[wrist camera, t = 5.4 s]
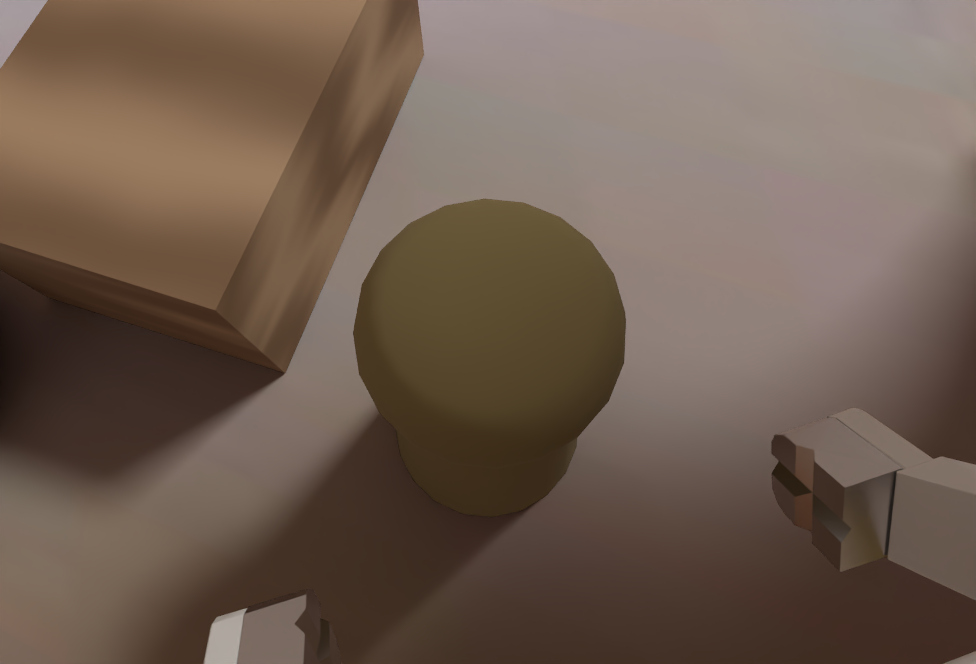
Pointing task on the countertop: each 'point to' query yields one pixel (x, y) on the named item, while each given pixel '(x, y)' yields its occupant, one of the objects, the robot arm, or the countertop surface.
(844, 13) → the countertop surface
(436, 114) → the countertop surface
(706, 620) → the countertop surface
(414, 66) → the wooden block
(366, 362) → the cork
